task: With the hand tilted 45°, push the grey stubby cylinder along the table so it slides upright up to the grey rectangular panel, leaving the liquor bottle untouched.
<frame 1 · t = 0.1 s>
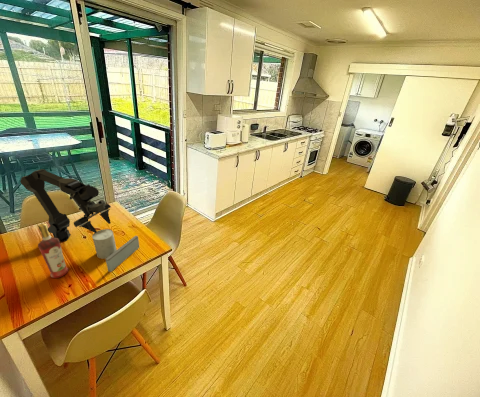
hand: (103, 228, 118), 15 cm above the table, tool tilted 35°, fingers open, 9 cm apart
grey stubby cylinder: (107, 253, 123), on the table
grey rectangular panel: (124, 258, 120), on the table
liquor: (60, 274, 107), on the table
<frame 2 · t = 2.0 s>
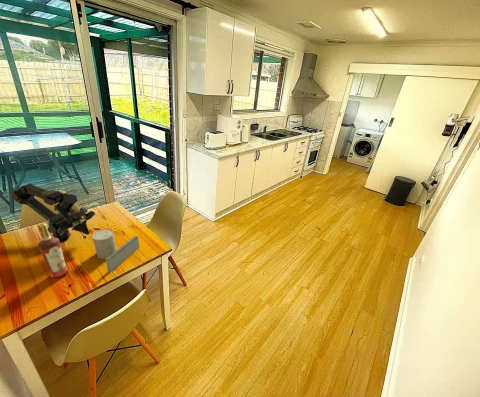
hand: (88, 234, 121), 9 cm above the table, tool tilted 45°, fingers closed
nothing on the table moved.
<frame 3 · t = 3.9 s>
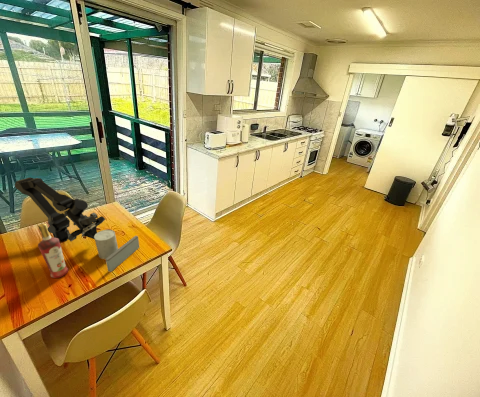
hand: (98, 240, 120), 7 cm above the table, tool tilted 45°, fingers closed, pressing on grey stubby cylinder
grey stubby cylinder: (108, 253, 123), on the table, touching gripper
everything else where it was.
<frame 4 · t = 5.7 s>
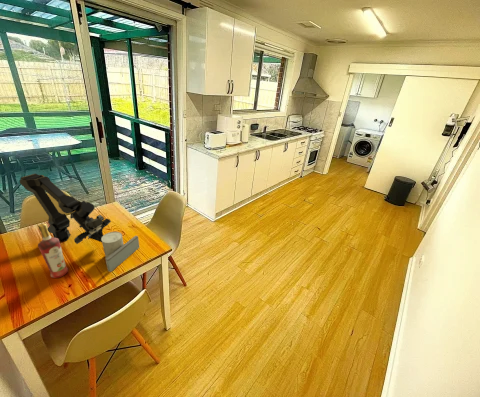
hand: (104, 242, 120), 7 cm above the table, tool tilted 45°, fingers closed
grey stubby cylinder: (115, 255, 122), on the table
everything else where it was.
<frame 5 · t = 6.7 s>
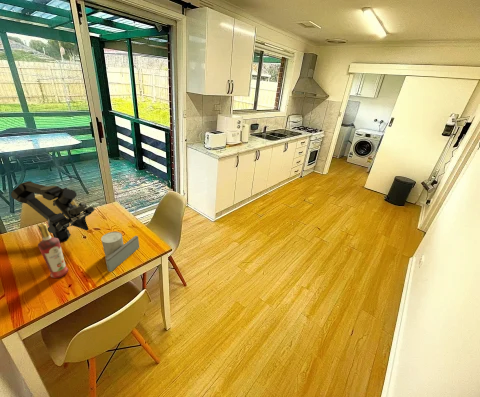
hand: (87, 230, 120), 12 cm above the table, tool tilted 45°, fingers closed
nothing on the table moved.
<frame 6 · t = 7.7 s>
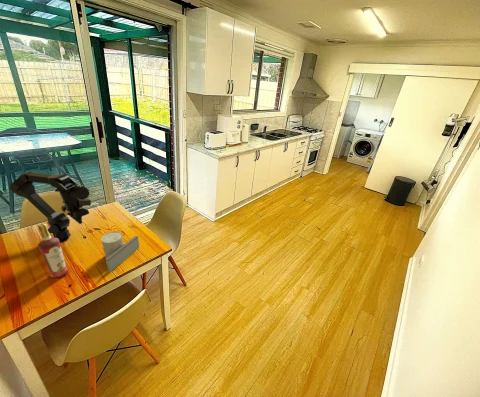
hand: (80, 223, 124), 12 cm above the table, tool pointing down, fingers closed
nothing on the table moved.
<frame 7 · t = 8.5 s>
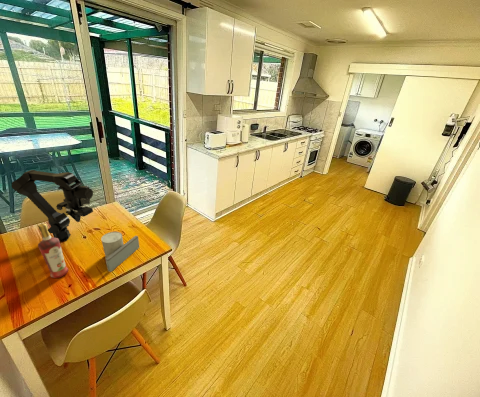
hand: (78, 221, 124), 13 cm above the table, tool pointing down, fingers closed
nothing on the table moved.
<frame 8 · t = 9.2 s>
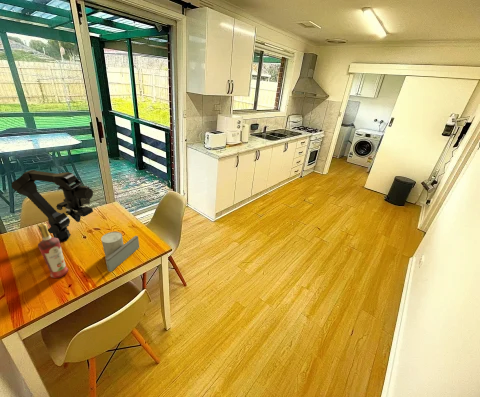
hand: (78, 221, 124), 13 cm above the table, tool pointing down, fingers closed
nothing on the table moved.
at the end: grey stubby cylinder 6.1 cm from the grey rectangular panel (horizontally); grey stubby cylinder tilted 0°; the gripper is holding nothing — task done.
